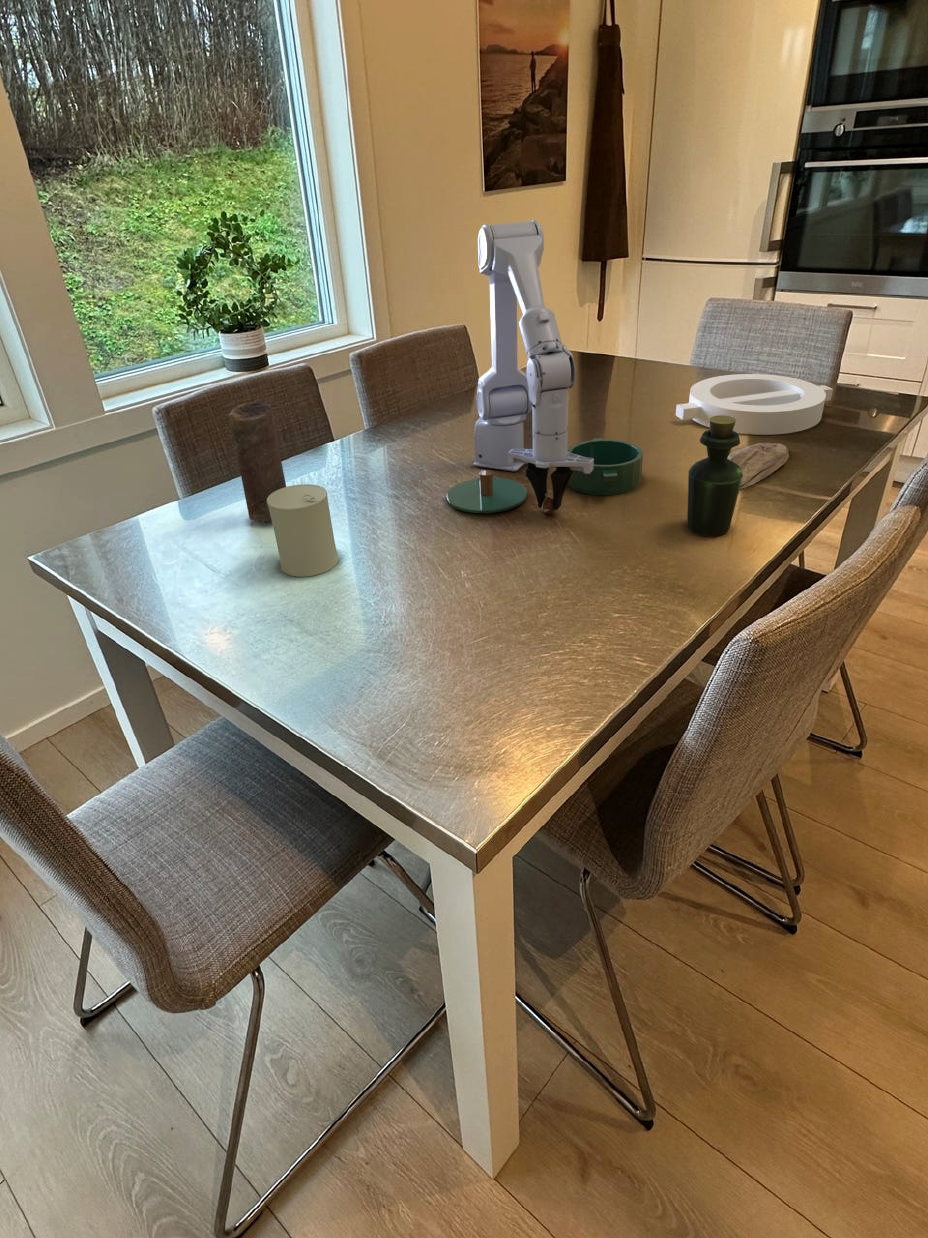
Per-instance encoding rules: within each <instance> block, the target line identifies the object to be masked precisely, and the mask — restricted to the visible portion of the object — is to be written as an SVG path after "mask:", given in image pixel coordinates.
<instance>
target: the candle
mask: <svg viewBox="0 0 928 1238" xmlns="http://www.w3.org/2000/svg"><path fill="white" fill-rule="evenodd" d="M228 419H229V424H230V429H231V434H232V439H233V443H234V449H235V453H236V459H237V463H238V468H239V473H240V478H241V483H242V488H243V493H244V499H245V504H246V509H247V513H248V518H249V520H250V521H252V522H253V521H254V522H257V521H258V522H263V523H267V524H268V523H269V524H271V523H272V520H271V516H270V512H269V507H268V504H267V498H268V496H269V495H270V494H272V493H273V492H275V491H277V490H279V489H281V488H284V487H287V483H286V478H285V473H284V467H283V463H282V458H281V457H282V456H281V451H280V447H279V442H278V435H277V430H276V424H275V418H274V414H273V407H272V406H271V404H269V403H266V402H262V401H255V402H253V401H251V402H244V403H242V404H239V405H238V406H236V407H234V408H232V410H231V411H230V412H229V413H228Z"/></svg>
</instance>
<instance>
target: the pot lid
mask: <svg viewBox="0 0 928 1238" xmlns="http://www.w3.org/2000/svg"><path fill="white" fill-rule="evenodd" d="M478 476H479V478H473V479H469V480H464V481H462V482H459V483H457V484H455V485H453V486H452V487H450V489H449V490H448V491H447V493H446V501H447V503H448V504H449V505H450V506H451V507H453V508H454V509H457V510H460V511H462V512H466V513H473V514H494V513H499V512H505V511H508V510H512V509H514V508H516V507H518V506H520V505H521V504H523V503H524V502H525V501H526V499H527V497H528V490H527V488H526V486H525V485H523V484H522V483H520V482H518V481H515V480H513V479H508V478H502V477H494V473H493V471H492V470H489V469H483V470H481V471H479V473H478Z"/></svg>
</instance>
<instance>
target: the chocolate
mask: <svg viewBox="0 0 928 1238" xmlns="http://www.w3.org/2000/svg"><path fill="white" fill-rule="evenodd" d="M550 495H551V490H549V491H547V494H545V496H547V497H546V498H545V500H544V502H543V504H542V508H541V512H542V514H545V515H548V514H553V513H554V512H555V511H556V510H553V497H550Z"/></svg>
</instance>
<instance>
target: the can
mask: <svg viewBox="0 0 928 1238" xmlns="http://www.w3.org/2000/svg"><path fill="white" fill-rule="evenodd" d="M267 504H268V507H269V512H270V516H271V520H272V528H273V533H274V538H275V541H276V542H275V543H276V546H277V547H276V548H277V552H278V556H279V562H280V570H281V571H282V572H283V573H285V574H286V575H288V576H292V577H299V578H304V577H314V576H317V575H321V574H324V573H326V572H329V571H330V570H332V569H333V568H334V567H335V566H336V565H337V564H338V562H339V560H340V557H339V553H338V552H337V547H336V541H335V534H334V529H333V524H332V518H331V510H330V505H329V499H328V491H327V489H326V488H324V487H323V486H320V485H319V484H318V485H317V484H311V483H310V484H309V483H304V484H303V483H301V484H300V483H299V484H293V485H288V486H286V487H284V488H281V489H279V490H277V491H275V492H273V493H272V494H270V495H269V496H268V498H267Z"/></svg>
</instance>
